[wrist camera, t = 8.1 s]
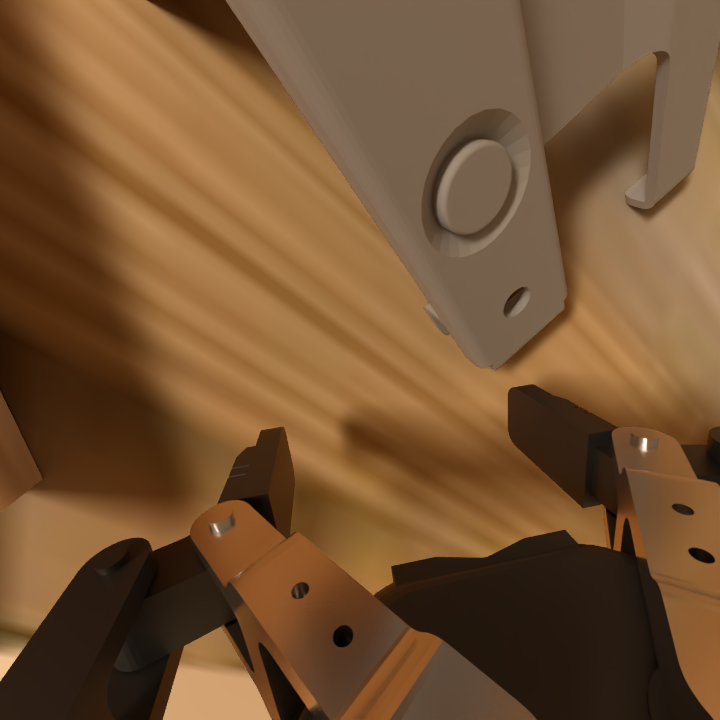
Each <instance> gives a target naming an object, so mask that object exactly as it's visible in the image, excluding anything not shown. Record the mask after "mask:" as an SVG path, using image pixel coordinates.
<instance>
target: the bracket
mask: <svg viewBox="0 0 720 720" xmlns="http://www.w3.org/2000/svg"><path fill="white" fill-rule="evenodd" d="M226 2H227V3H228V5H229V6H230V8H231V9H232V11H233V12H234V14H235V15H236V17H237V18H238V20H239V21H240V23H241V24H242V26H243V27H244V29H245V30H246V31H247V33H248V34H249V36H250V37H251V39H252V40H253V42H254V43H255V45H256V46H257V48H258V49H259V51H260V52H261V54H262V55H263V57H264V58H265V60H266V61H267V63H268V64H269V66H270V67H271V69H272V70H273V72H274V73H275V74H276V76H277V77H278V79H279V80H280V82H281V83H282V85H283V86H284V88H285V89H286V91H287V92H288V94H289V95H290V97H291V98H292V100H293V101H294V103H295V104H296V106H297V107H298V109H299V110H300V112H301V113H302V115H303V116H304V118H305V119H306V120H307V122H308V123H309V125H310V126H311V128H312V129H313V131H314V132H315V134H316V135H317V137H318V138H319V140H320V141H321V143H322V144H323V146H324V147H325V149H326V150H327V152H328V153H329V155H330V156H331V158H332V159H333V161H334V162H335V164H336V165H337V166H338V168H339V169H340V171H341V172H342V174H343V175H344V177H345V178H346V180H347V181H348V183H349V184H350V186H351V187H352V189H353V190H354V192H355V193H356V195H357V196H358V198H359V199H360V201H361V202H362V204H363V205H364V207H365V208H366V210H367V211H368V212H369V214H370V215H371V217H372V218H373V220H374V221H375V223H376V224H377V226H378V227H379V229H380V230H381V232H382V233H383V235H384V236H385V238H386V239H387V241H388V242H389V244H390V245H391V247H392V248H393V250H394V251H395V253H396V254H397V256H398V257H399V258H400V260H401V261H402V263H403V264H404V266H405V267H406V269H407V270H408V272H409V273H410V275H411V276H412V278H413V279H414V281H415V282H416V284H417V285H418V287H419V288H420V290H421V291H422V293H423V294H424V296H425V297H426V299H427V300H428V303H427V304H426V305H425V306H424V307H423V308H424V310H425V311H426V313H427V314H428V315H429V317H430V318H431V320H432V321H433V323H434V324H435V326H436V327H437V328H438V329H439V330H440V331H441V332H442V333H443V334H445V335H448V334H451V336H452V337H453V339H454V340H455V342H456V343H457V345H458V346H459V348H460V349H461V350H462V352H463V353H464V355H465V356H466V358H468V359H469V360H470V361H471V362H472V363H473V364H475V365H476V366H477V367H479V368H487V367H491V368H492V369H494V370H497V369H498V368H499V367H501V366H502V365H503V364H504V363H505V362H506V361H507V360H508V359H509V358H511V357H512V356H513V355H514V354H515V353H516V352H517V351H518V350H519V349H521V348H522V347H523V346H524V345H525V344H526V343H527V342H528V341H529V340H531V339H532V338H533V337H534V336H535V335H536V334H537V333H538V332H539V331H541V330H542V329H543V328H544V327H545V326H546V325H547V324H548V323H550V322H551V321H552V320H553V319H554V318H555V317H556V316H557V315H558V314H560V313H561V312H562V311H563V310H564V309H565V306H564V301H563V300H564V299H565V298H566V297H567V295H568V291H567V285H566V279H565V273H564V267H563V261H562V255H561V248H560V242H559V236H558V230H557V224H556V218H555V212H554V206H553V200H552V194H551V187H550V181H549V175H548V169H547V163H546V157H545V151H544V146H545V145H546V144H547V143H548V142H549V141H550V140H551V139H552V138H553V137H554V136H555V135H556V134H557V133H558V132H559V131H560V130H561V129H562V128H563V127H564V126H565V125H567V124H568V123H569V122H570V121H571V120H572V119H573V118H574V117H575V116H576V115H577V114H578V113H579V112H580V111H581V110H582V109H583V108H584V107H585V106H586V105H587V104H588V103H590V102H591V101H592V100H593V99H594V98H595V97H596V96H597V95H598V94H599V93H600V92H601V91H602V90H603V89H604V88H605V87H606V86H607V85H608V84H609V83H610V82H611V81H613V80H614V79H615V78H616V77H617V76H618V75H619V74H620V73H621V72H622V71H623V70H625V69H626V68H628V67H629V66H631V65H632V64H634V63H635V62H637V61H638V60H640V59H641V58H643V57H645V56H647V55H649V54H650V53H653V54H655V55H656V57H657V72H656V83H655V94H654V106H653V117H652V128H651V140H650V151H649V162H648V172H647V173H646V174H645V175H644V176H642V177H641V178H640V179H639V180H638V181H637V182H636V183H635V184H634V185H632V186H631V187H630V188H629V189H628V190H627V191H626V192H625V197H626V203H627V204H629V205H631V206H634V207H638V208H642V209H649V208H651V207H653V206H654V205H655V204H656V203H657V202H658V201H659V200H661V199H662V198H663V197H664V196H665V195H666V194H667V193H668V192H669V191H671V190H672V189H673V188H674V187H675V186H676V185H677V184H678V183H679V182H681V181H682V180H683V179H684V178H685V177H686V176H687V175H688V174H689V173H691V172H692V170H693V169H694V165H695V160H696V155H697V150H698V145H699V140H700V135H701V130H702V126H703V121H704V116H705V111H706V106H707V101H708V96H709V91H710V86H711V81H712V76H713V71H714V66H715V61H716V56H717V51H718V46H719V41H720V0H226ZM521 287H522V288H523V289H522V290H519V291H518V292H517V293H516V294H515V295H514V296H513V297H512V298H511V299H510V300H509V301H507V300H508V298H509V297H510V295H511V294H512V293H513V292H515V291H516V290H517V289H519V288H521ZM506 301H507V302H506Z"/></svg>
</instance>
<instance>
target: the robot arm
mask: <svg viewBox="0 0 720 720" xmlns="http://www.w3.org/2000/svg"><path fill="white" fill-rule="evenodd" d="M508 431H509V435H510V438H511V440H512V442H513V443H514V445H515V446H516V447H517V448H518V449H520V450H521V451H522V452H523V453H524V454H525V455H526V456H527V457H528V458H529V459H530V460H532V461H533V462H534V463H535V464H536V465H537V466H538V467H539V468H540V469H541V470H542V471H543V472H545V473H546V474H547V475H548V476H549V477H550V478H551V479H552V480H553V481H554V482H555V483H556V484H558V485H559V486H560V487H561V488H562V489H563V490H564V491H565V492H566V493H567V494H568V495H570V496H571V497H572V498H573V499H574V500H575V501H576V502H577V503H578V504H579V505H580V506H581V507H583V508H586V507H590V506H595V505H600V504H603V505H604V506H605V508H604V525H605V534H606V542H607V548H605V547H600V546H595V545H586V544H578V543H577V542H576V541H575V540H574V539H573V538H572V537H571V536H570V535H569V533H568V532H567V531H566V530H561V531H557V532H552V533H547V534H542V535H538V536H533V537H528V538H524V539H522V540H520V541H518V542H516V543H514V544H512V545H510V546H508V547H506V548H504V549H502V550H500V551H498V552H496V553H494V554H492V555H491V556H488V557H485V558H461V557H433V558H428V559H424V560H419V561H414V562H409V563H405V564H400V565H395V566H391V568H392V576H393V583H392V584H390V585H388V586H386V587H385V588H383V589H382V590H380V591H379V592H377V593H376V594H375V595H374V596H373V595H372V594H371V593H370V592H369V591H367V590H366V589H365V588H364V587H363V586H362V585H360V584H359V583H358V582H357V581H356V580H355V579H353V578H352V577H351V576H350V575H349V574H348V573H346V572H345V571H344V570H343V569H342V568H341V567H339V566H338V565H337V564H336V563H335V562H334V561H332V560H331V559H330V558H329V557H328V556H327V555H325V554H324V553H323V552H322V551H321V550H319V549H318V548H317V547H316V546H315V545H314V544H312V543H311V542H310V541H309V540H308V539H307V538H305V537H304V536H303V535H302V534H300V533H298V532H294V533H293V534H292V535H290V527H291V517H292V506H293V496H294V486H295V479H294V470H293V464H292V460H291V455H290V450H289V446H288V441H287V436H286V432H285V429H284V427H278V428H273V429H267V430H261V432H260V435H259V438H258V441H257V444H256V446H253V447H247V448H246V449H245V450H244V451H243V452H242V453H241V454H240V455H239V456H238V457H237V458H236V460H235V462H234V465H233V467H232V468H233V469H232V470H231V472H230V475H229V478H228V479H227V482H226V484H225V487H224V489H223V492H222V494H221V497H220V499H219V501H218V504H217V505H215V506H213V507H211V508H209V509H208V510H206V511H205V512H204V513H202V514H201V515H200V516H199V517H198V518H197V519H196V520H195V521H194V523H193V525H192V527H191V529H190V535H189V536H187V537H185V538H183V539H181V540H179V541H176V542H174V543H172V544H169V545H167V546H164V547H162V548H159V549H157V550H155V551H152V548H151V545H150V543H149V541H147V540H146V539H143V538H131V539H126V540H123V541H120V542H117V543H115V544H113V545H111V546H109V547H107V548H105V549H104V550H102V551H100V552H99V553H97V554H96V555H95V556H93V557H92V558H91V559H90V560H89V561H87V562H86V563H85V564H84V565H83V566H82V568H81V569H80V570H79V571H78V573H77V574H76V575H75V577H74V578H73V580H72V581H71V582H70V584H69V585H68V587H67V588H66V590H65V591H64V592H63V594H62V595H61V597H60V598H59V599H58V601H57V602H56V604H55V605H54V606H53V608H52V609H51V611H50V612H49V614H48V615H47V616H46V618H45V619H44V621H43V622H42V623H41V625H40V626H39V628H38V629H37V630H36V632H35V633H34V635H33V636H32V638H31V639H30V640H29V642H28V643H27V645H26V646H25V647H24V649H23V650H22V652H21V653H20V654H19V656H18V657H17V659H16V660H15V662H14V663H13V664H12V666H11V667H10V669H9V670H8V671H7V673H6V674H5V676H4V677H3V678H2V680H1V681H0V720H163V716H164V713H165V709H166V706H167V702H168V699H169V695H170V692H171V689H172V685H173V682H174V678H175V675H176V672H177V668H178V665H179V661H180V658H181V654H182V651H183V648H184V646H185V645H187V644H189V643H190V642H192V641H194V640H196V639H198V638H200V637H202V636H204V635H206V634H207V633H209V632H211V631H213V630H215V629H217V628H219V627H222V629H223V631H224V633H225V634H226V636H227V638H228V639H229V641H230V643H231V644H232V646H233V648H234V649H235V651H236V653H237V655H238V656H239V658H240V660H241V661H242V663H243V665H244V666H245V668H246V670H247V671H248V673H249V675H250V677H251V678H252V680H253V682H254V683H255V685H256V687H257V689H258V691H259V693H260V694H261V697H262V699H263V701H264V703H265V706H266V708H267V710H268V712H269V715H270V717H271V718H272V720H720V427H715V428H712V429H711V430H710V431H709V436H708V441H707V445H680V444H679V442H678V441H677V440H676V439H674V438H673V437H671V436H670V435H668V434H665V433H663V432H660V431H657V430H653V429H649V428H644V427H632V426H629V427H620V428H617V427H616V426H614V425H612V424H610V423H608V422H607V421H605V420H603V419H601V418H599V417H597V416H596V415H594V414H592V413H588V411H586V410H585V409H583V408H581V407H580V408H579V407H578V406H577V405H575V404H574V403H572V402H570V401H568V400H566V399H563V398H560V397H556V396H553V395H552V394H550V393H548V392H546V391H544V390H543V389H541V388H539V387H537V386H535V385H533V384H531V385H525V386H519V387H513V388H511V389H510V390H509V392H508Z"/></svg>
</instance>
